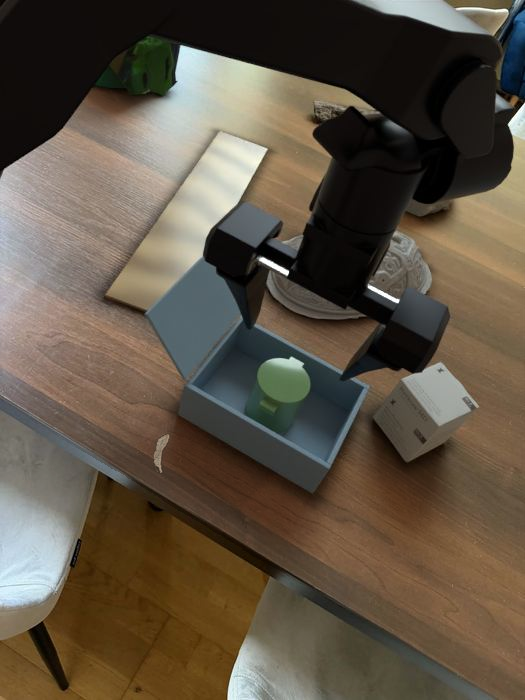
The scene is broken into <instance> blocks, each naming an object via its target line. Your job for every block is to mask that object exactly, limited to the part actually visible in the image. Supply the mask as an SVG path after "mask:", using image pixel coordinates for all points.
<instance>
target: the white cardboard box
mask: <svg viewBox="0 0 525 700" xmlns="http://www.w3.org/2000/svg"><path fill="white" fill-rule="evenodd" d="M479 409H480V406H479V404H478V403H477V402H476V401H475V400H474V398H473V397H472V396H471V395H470V394H469V392H467V390H466V388H465V387H464V385H463V384H462V383H461V382H460V381H459V380H458V379H457V378H456V377H455V376H454V375H453V374H452V373H451V371H449V369H448V368H447V366H445V364H444V363H443V362H441V361H440V362H438V363H434V364H432V365H430V366H428V367H425V369H424V370H423V371H422V373H414V374H412V373H411V374H410V375H407V376H405V377H403V378H401V379H400V380H398V382H397V384H396V385H395V387H394V388H393V389H392V391H391V392H390V393H389V394H388V396H387V397H386V399H385V400H384V401H383V403H382V404H381V405H380V407H379V408H378V409H377V410H376V412H375V413H374V415H373V416H372V418H373V420H374V421H375V423H376V424H377V425H378V426H379V428H380V429H381V430H382V432H383V433H384V434H385V436H386V437H387V439H388V440H389V441H390V443H391V444H392V445H393V447H394V448H395V449H396V451H397V452H398V454H399V455H400V457H401V458H402V460H403V461H404V462H406V463H409V462H411V461H413V460H416V458H418V457H420V456H422V455H424V454H427V453H428V452H430V451H432V450H433V449H435V448H437V447H439V446H441V445H443V444H445V443H446V442H447V441H448V440H449V439H450V438H451V437H452V436H453V435H455V433H456V432H457V431H458V430H459V429H460V428H461V427H462V426H463V425H464V424H465V423H466V421H468V420H469V419H470V418H471V417H472V416H473V415H474V414H475V413H476V412H477V411H478V410H479Z"/></svg>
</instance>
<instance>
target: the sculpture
mask: <svg viewBox="0 0 525 700" xmlns="http://www.w3.org/2000/svg"><path fill="white" fill-rule="evenodd" d="M181 46H182V45H178V44H174V43H171V42H167V41H163V40H160V39H156V38H152V37H148V36H147V37H146V38H144V39H143V40H141V41H140V42H138V43H137V44H135V45H133V46H132V47H130V48H129V49H127V50H126V51H124V52H123V53H121V54H120V55H118V56H117V57H115V58H114V59H113V61H112V62H111V63H110V65H109V66H108V67H107V69H106V70H105V71H104V73H103V74H102V76H101V77H100V78H99V80H98V81H97V82H96V84H95V85H94V86H96V87H102V88H110V89H126V90H127V92H128V95H130V96H135V95H144V94H147V93H150V92H152V93H155V94H157V95H158V96H159V95H160V96H162V97H164V96H165V95H166V93H167V92H168V91H169V90H171V89H172V88H173V87H174V86H175V85H177V83H178V81H179V80H177V76H176V71H177V66H178V62H179V61H178V60H179V56H180V51H181Z"/></svg>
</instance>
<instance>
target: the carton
mask: <svg viewBox="0 0 525 700" xmlns="http://www.w3.org/2000/svg"><path fill="white" fill-rule="evenodd" d="M211 350H212V351H210V352H209V353H208V354H207V356H206V357H205V358H204V359H203V360H202V362H201V363H200V364H199V365H198V367H197V368H196V369H195V370H194V372H193V373H192V374H191V375H190V376H189V378H188V379H187V380H186V382H185V383H184V385H183V389H182V393H181V398H180V403H179V407H178V413H177V415H178V416H180V417H181V418H183V419H184V420H186V421H188V422H190V423H191V424H193V425H195V426H197V428H200V429H201V430H203V431H205V432H207V433H208V434H210V435H211V436H213V437H215V438H217V439H218V440H220V441H222V442H224V443H225V444H227V445H229V446H231V447H232V448H234V449H236V450H238V451H239V452H241V453H242V454H244V455H246V456H248V457H249V458H251V459H253V460H255V462H257V463H259V464H261V465H263V466H265V467H266V468H268V469H270V470H271V471H273V472H274V473H276V474H278V475H280V476H281V477H283V478H285V479H287V480H288V481H290V482H292V483H294V484H295V485H297V486H299V487H301V488H302V489H303V490H305V491H307V492H309V493H310V494H314V493H315V491H316V490H317V489H318V487H319V485H320V484H321V482H322V481H323V480H324V478H325V477H326V475H327V474H328V472H329V471H330V470H331V467H332V465H333V463H334V461H335V459H336V457H337V455H338V453H339V451H340V449H341V447H342V444H343V443H344V441H345V439H346V437H347V435H348V432H349V431H350V428H351V427H352V425H353V423H354V420H355V419H356V416H357V414H358V412H359V410H360V408H361V406H362V405H363V402H364V400H365V398H366V397H367V394H368V391H369V390H370V388H371V386H370V385H368V384H367V383H365V382H363V381H361V380H359V379H357V378H356V377H353V378H351V379H349V380H346V381H344V382H343V381H341V380H339V379H340V377H341V375H342V373H343V372H344V370H341V369H340V368H337V367H336V366H334V365H332V364H330V363H328V362H326V361H324V360H323V359H321V358H319V357H318V356H315V355H313V354H312V353H311V352H308V351H307V350H305V349H302V348H301V347H299V346H297V345H296V344H294V343H293V342H290V341H288V340H286V339H285V338H283V337H281V336H280V335H277V334H276V333H274V332H272V331H270V330H268V329H266V328H265V327H263V326H261V325H260V324H258V323H257V322H256V323H255V325H254V326H253V327H252V329H251V330H249V329H247V328H246V326H245V323H244V321H243V318H242V316H241V315H239V316H238V317H237V318H236V320H235V321H234V322H233V323H232V325H231V326H230V327H229V328H228V330H227V331H226V332H225V333H224V335H223V336H222V337H221V338H220V339H219V341H218V342H217V343H216V344H215V346H214V347H213V348H212V349H211ZM290 356H292V357H293V358H295V359H297V360H299V361H301V362H302V363H304V366H303V369H304V370H305V371H306V373H307V374H308V376H309V379H310V391H309V393H308V395H307V397H306V399H305V401H304V403H303V405H302V407H301V409H300V411H299V413H298V415H297V417H296V419H295V421H294V422H293V424H292V426H291V427H290V428H289V429H287V430H286V431H284V432H281V433H275V432H273V431H271V430H269V429H268V428H266V427H264V426H263V425H261V424H259V423H257V422H256V421H254V420H252V419H250V418H249V417H247V415H246V411H245V405H246V402H247V399H248V396H249V394H250V391H251V388H252V386H253V383H254V380H255V377H256V375H257V372H258V369H259V368H260V366H261V365H262V364H263V363H264V362H266V361H268V360H270V359H274V358H284V359H289V358H290Z"/></svg>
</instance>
